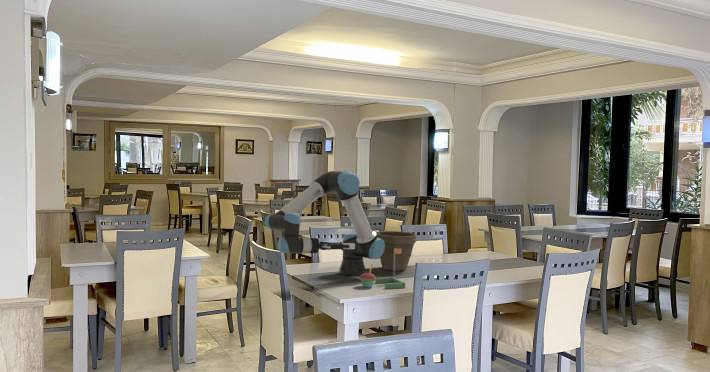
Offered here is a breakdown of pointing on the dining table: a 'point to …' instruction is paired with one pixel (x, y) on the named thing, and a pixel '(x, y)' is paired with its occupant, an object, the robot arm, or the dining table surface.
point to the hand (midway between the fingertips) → (354, 246)
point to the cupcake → (367, 278)
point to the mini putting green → (393, 281)
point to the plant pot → (398, 242)
